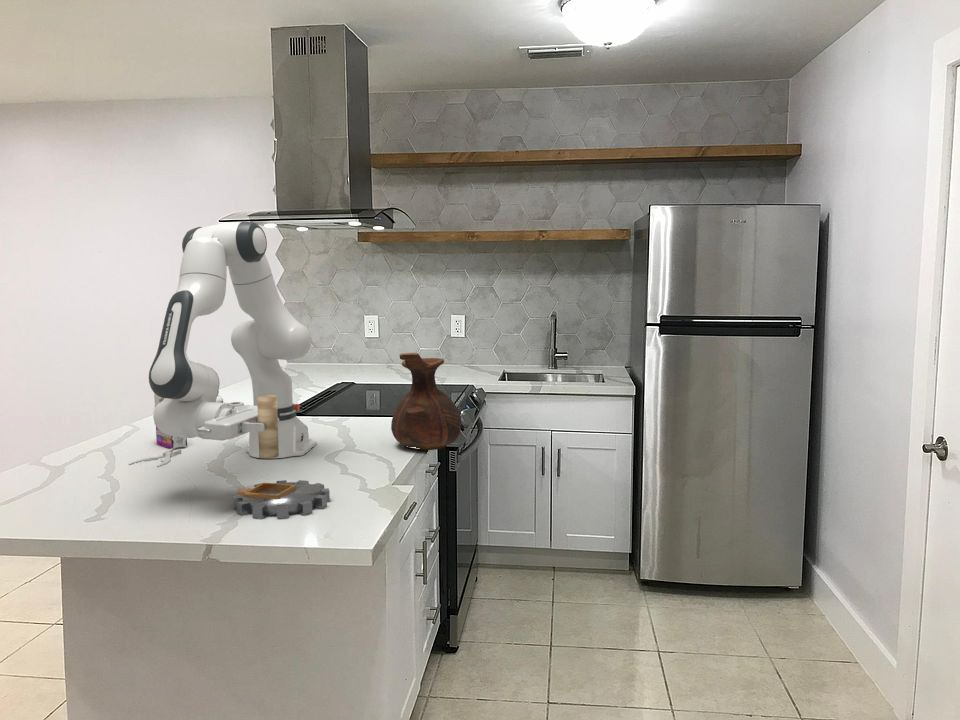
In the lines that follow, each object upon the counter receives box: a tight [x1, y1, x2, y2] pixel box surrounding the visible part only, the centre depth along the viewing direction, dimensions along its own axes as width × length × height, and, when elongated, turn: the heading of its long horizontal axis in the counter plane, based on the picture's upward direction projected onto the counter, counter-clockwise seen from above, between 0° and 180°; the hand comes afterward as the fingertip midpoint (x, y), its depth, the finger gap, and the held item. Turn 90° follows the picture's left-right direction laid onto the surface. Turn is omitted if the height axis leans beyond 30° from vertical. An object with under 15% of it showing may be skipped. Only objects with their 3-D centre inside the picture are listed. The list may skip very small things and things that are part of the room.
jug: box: [390, 352, 462, 451], centre depth 235 cm, size 22×22×30 cm
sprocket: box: [232, 479, 331, 520], centre depth 181 cm, size 22×22×3 cm
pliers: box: [128, 448, 182, 468], centre depth 221 cm, size 10×2×15 cm
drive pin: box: [257, 395, 279, 459], centre depth 179 cm, size 4×4×14 cm
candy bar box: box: [153, 392, 188, 451], centre depth 236 cm, size 11×5×16 cm, turn 47°
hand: (271, 424), depth 179 cm, fingers closed on drive pin, 4 cm apart
